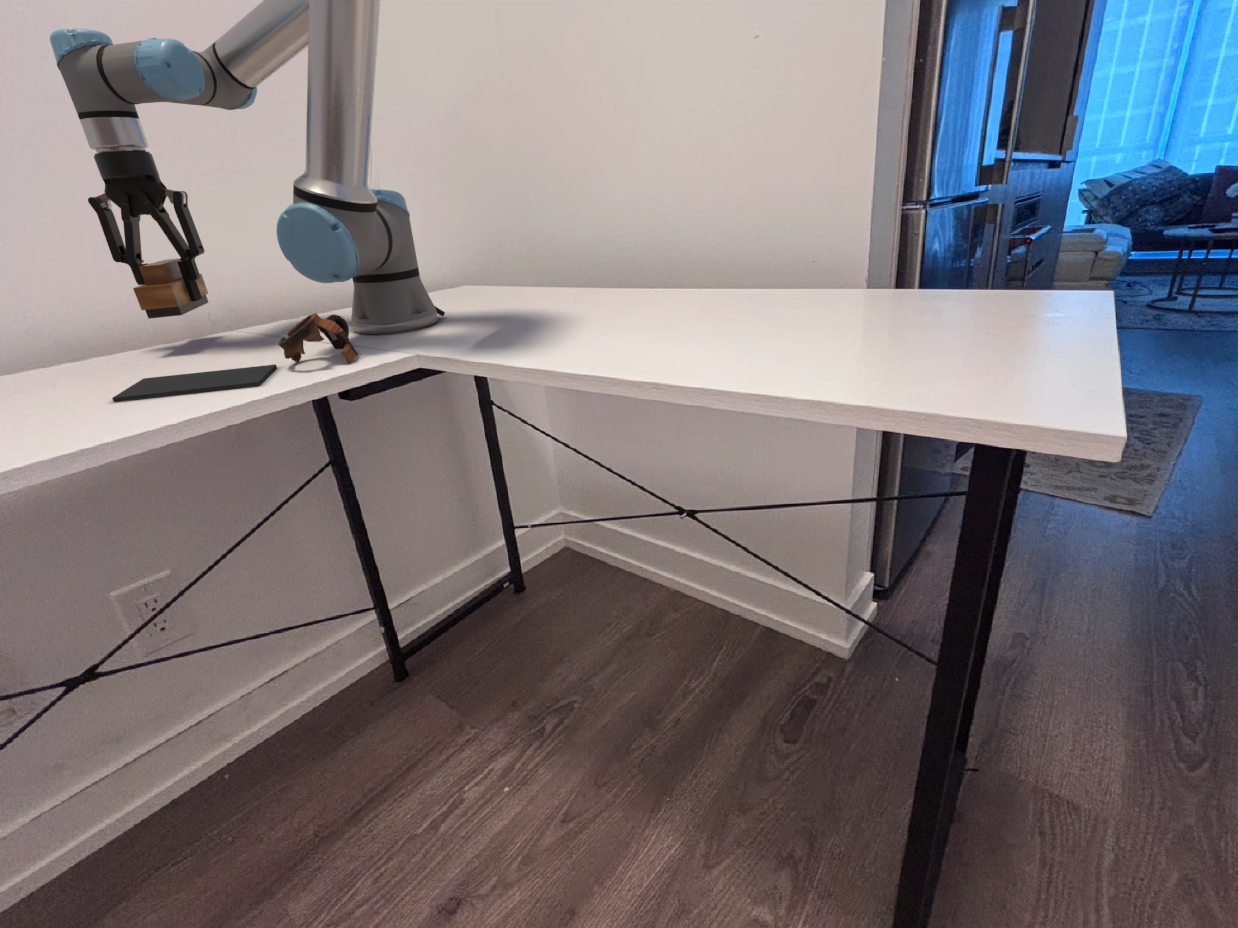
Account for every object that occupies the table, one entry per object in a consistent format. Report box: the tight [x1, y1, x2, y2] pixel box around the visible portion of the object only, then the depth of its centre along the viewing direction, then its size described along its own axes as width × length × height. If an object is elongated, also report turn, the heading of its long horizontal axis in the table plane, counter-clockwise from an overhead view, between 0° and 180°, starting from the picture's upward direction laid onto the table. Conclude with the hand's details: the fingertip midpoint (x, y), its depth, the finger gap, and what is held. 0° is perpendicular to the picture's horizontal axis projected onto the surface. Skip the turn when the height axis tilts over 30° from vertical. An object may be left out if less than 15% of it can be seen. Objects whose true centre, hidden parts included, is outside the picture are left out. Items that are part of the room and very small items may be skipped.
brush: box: [132, 257, 209, 320], centre depth 105 cm, size 13×6×8 cm, turn 12°
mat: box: [111, 364, 278, 403], centre depth 88 cm, size 18×9×1 cm, turn 102°
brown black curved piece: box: [277, 312, 359, 364], centre depth 95 cm, size 12×10×8 cm
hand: (177, 301), depth 106 cm, fingers closed on brush, 6 cm apart
